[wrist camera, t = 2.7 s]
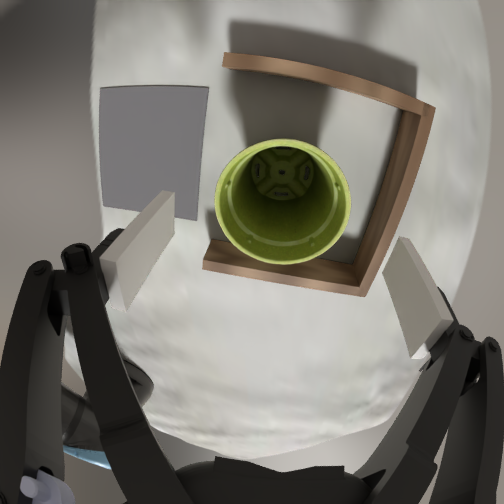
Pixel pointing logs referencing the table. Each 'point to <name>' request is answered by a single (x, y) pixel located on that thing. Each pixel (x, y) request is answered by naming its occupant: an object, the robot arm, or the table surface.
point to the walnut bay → (388, 203)
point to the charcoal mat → (151, 145)
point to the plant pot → (282, 201)
